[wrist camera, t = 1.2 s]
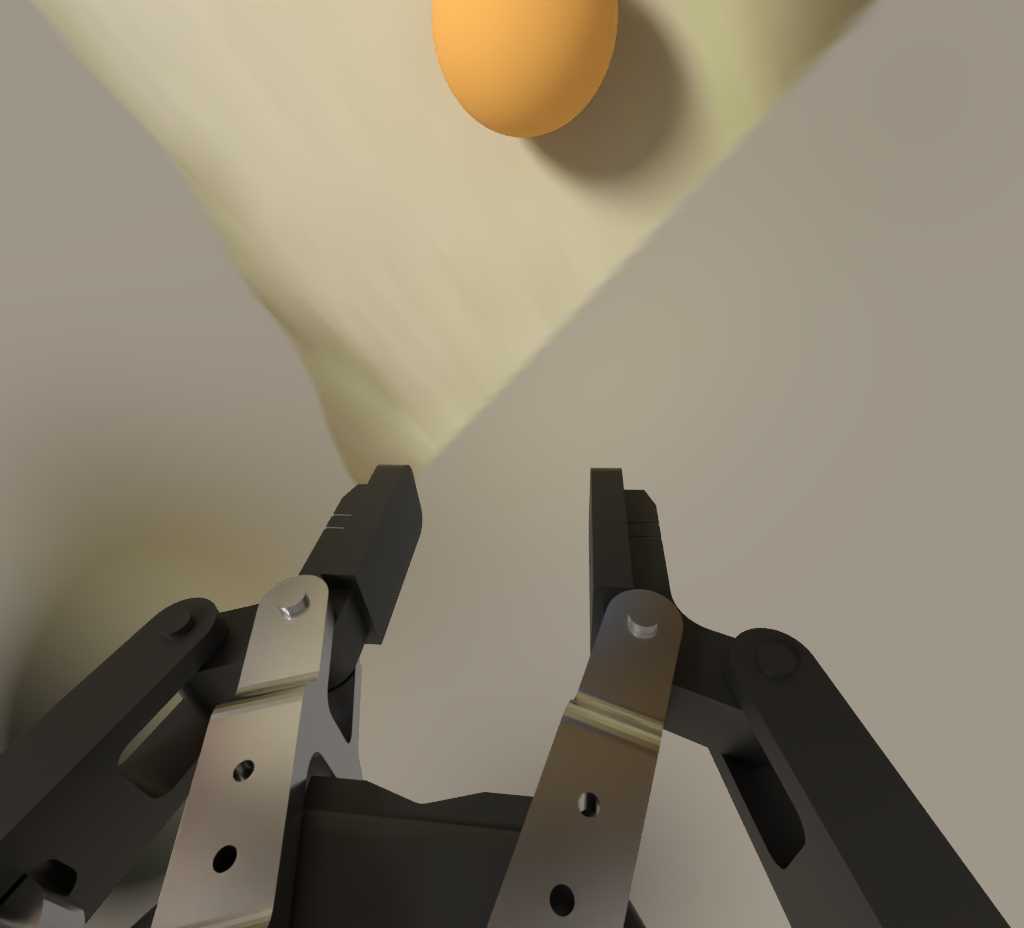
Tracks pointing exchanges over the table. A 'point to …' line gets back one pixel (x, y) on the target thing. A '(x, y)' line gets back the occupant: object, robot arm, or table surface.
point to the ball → (524, 58)
